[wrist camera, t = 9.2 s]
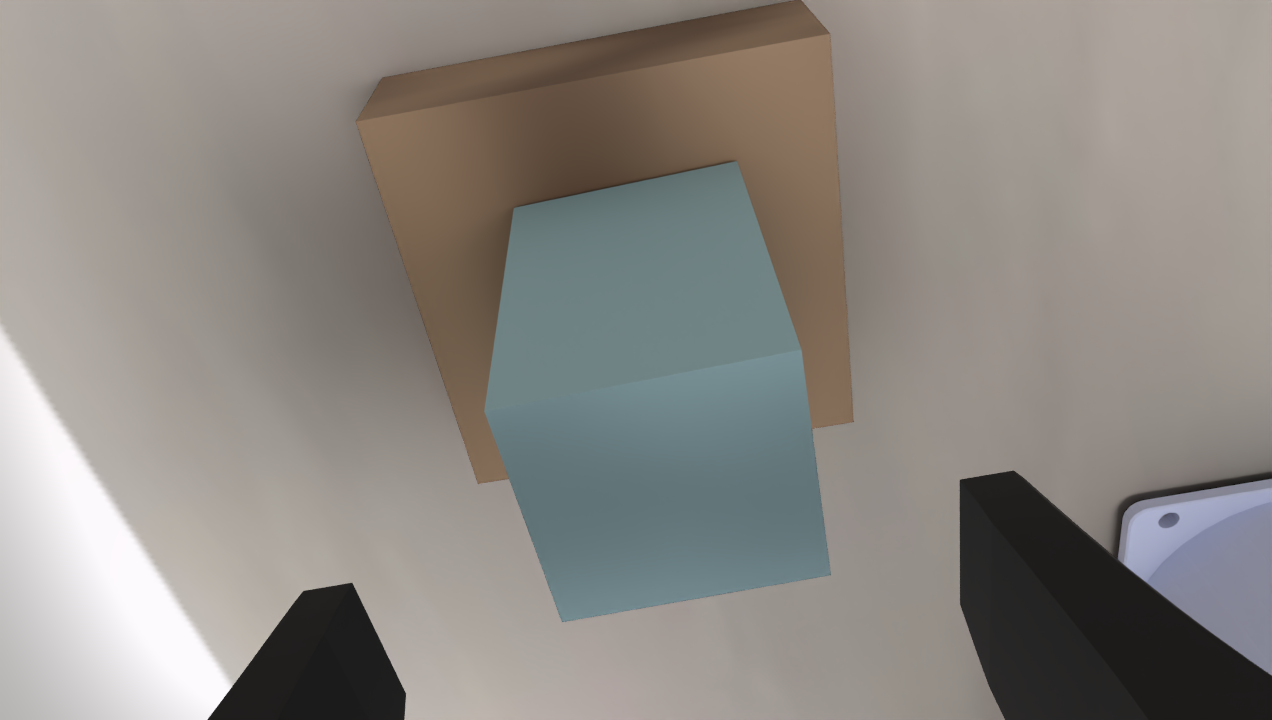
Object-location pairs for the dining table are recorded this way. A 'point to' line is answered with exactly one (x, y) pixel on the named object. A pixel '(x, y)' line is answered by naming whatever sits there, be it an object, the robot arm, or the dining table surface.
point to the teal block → (654, 397)
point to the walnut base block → (613, 172)
